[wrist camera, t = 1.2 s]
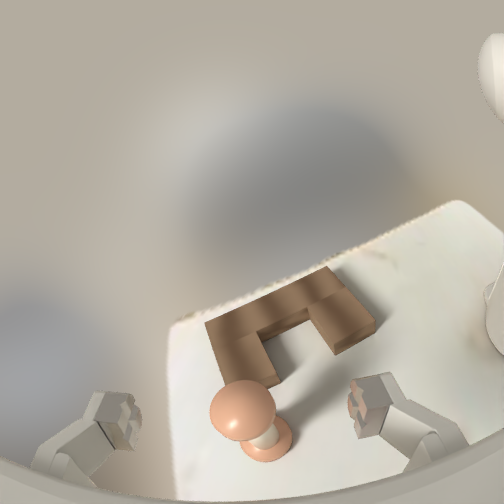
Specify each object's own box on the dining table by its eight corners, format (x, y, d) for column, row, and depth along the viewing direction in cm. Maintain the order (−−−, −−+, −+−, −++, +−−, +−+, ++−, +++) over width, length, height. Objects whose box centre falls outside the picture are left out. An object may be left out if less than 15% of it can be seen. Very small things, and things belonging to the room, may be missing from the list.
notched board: (328, 278, 53) (326, 265, 51) (375, 332, 41) (375, 320, 40) (211, 333, 50) (204, 322, 48) (235, 402, 39) (228, 393, 37)
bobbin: (280, 409, 36) (259, 370, 30) (300, 449, 31) (283, 421, 25) (236, 428, 36) (202, 394, 29) (252, 469, 31) (219, 447, 24)
